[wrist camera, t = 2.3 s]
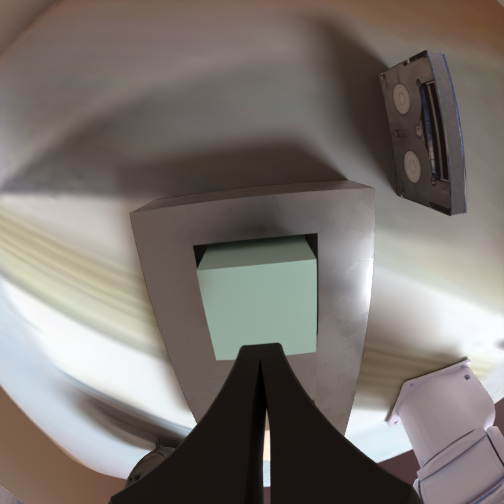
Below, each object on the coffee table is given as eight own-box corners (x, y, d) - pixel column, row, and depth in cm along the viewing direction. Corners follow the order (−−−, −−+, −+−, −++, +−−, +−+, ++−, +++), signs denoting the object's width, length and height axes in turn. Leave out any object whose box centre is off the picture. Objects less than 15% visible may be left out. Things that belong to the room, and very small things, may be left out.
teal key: (301, 232, 15) (316, 259, 11) (304, 310, 17) (315, 351, 13) (210, 241, 15) (196, 270, 11) (223, 317, 17) (216, 360, 13)
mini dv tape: (414, 193, 16) (470, 213, 10) (397, 195, 16) (451, 216, 10) (396, 76, 13) (448, 54, 8) (377, 75, 13) (426, 49, 8)
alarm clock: (162, 460, 28) (142, 554, 13) (131, 442, 27) (100, 539, 11) (216, 445, 26) (204, 566, 10) (180, 424, 24) (152, 556, 9)
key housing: (348, 179, 16) (374, 188, 12) (334, 412, 23) (342, 443, 19) (156, 199, 16) (129, 213, 13) (215, 422, 24) (211, 454, 20)
